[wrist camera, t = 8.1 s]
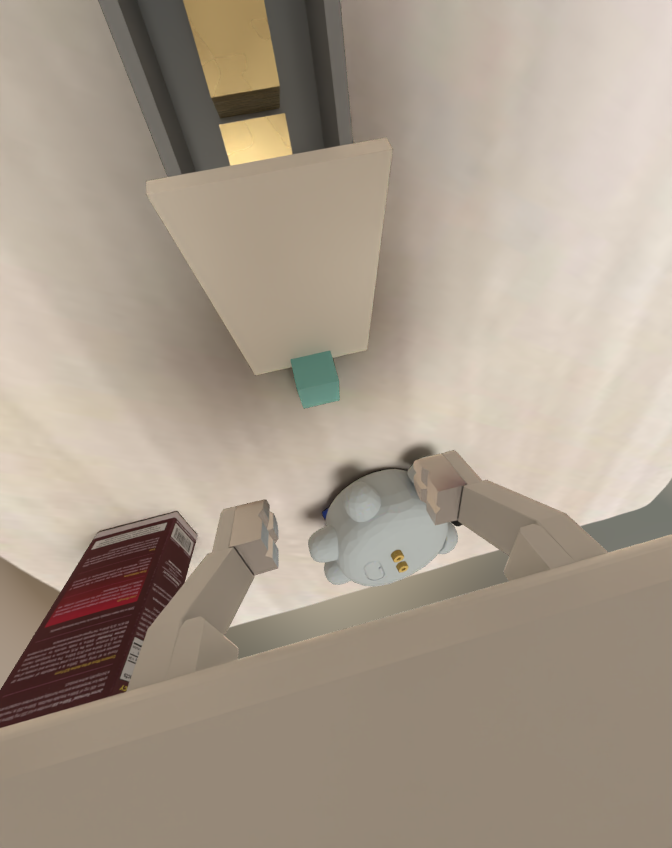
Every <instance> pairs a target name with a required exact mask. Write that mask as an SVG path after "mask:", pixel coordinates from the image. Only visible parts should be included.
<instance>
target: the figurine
mask: <svg viewBox="0 0 672 848" xmlns="http://www.w3.org/2000/svg"><path fill="white" fill-rule="evenodd" d="M426 457H429V456H426ZM426 457H422V458H426ZM422 458H420V459H422ZM415 474H416V471H415V470H414V463H413V465H412V466H411V467H410V469H409V470H408V471H405V470H399V469H387V470H382V471H378V472H374V473H371V474H369V475H366V476H364V477H361V478H360V479H358V480H356V481H354V482H353V483H351V484H350V485H349V486H347V487H346V488H345V489H343V490H342V491H341V492H340V494H339V495H338V496H337V497H336V498H335V499H334V501H333V502H332V504H331V505H330V507H329V508H328V509H326V510H325V511H323V512H322V514H323V517H324V518H325V520H326V527H324V528H322V529H320V530H318V531H316V532H315V533H314V534H313V535H312V536H311V537H310V539H309V542H308V546H309V551H310V554H311V557H312V558H313V559H314V560H315V561H317V562H325V566H324V571H325V575H326V578H327V579H328V581H329V582H331V583H332V584H335V585H340V584H344V583H346V582H349V581H353V582H355V583H358V584H361V585H364V586H381V585H386V584H390V583H393V582H396V581H398V580H401V579H403V578H406V577H408V576H410V575H412V574H413V573H415V572H417V571H418V570H420V569H421V568H423V567H425V566H426V565H427V564H428V563H429V562H430V561H432V560H433V559H434V558H435V557H436V556H437V554H446V553H448V552H450V551H451V550H453V549H454V547H455V546H456V544H457V541H458V535H457V531H456V529H455V527H454V526H453V525H452V524H454V525H455V526H461V525H463V524H461V523H460V522H458V520H456V521H452V522H448V523H444V524H440V525H434V523H433V521H432V519H431V518H430V516H429V514H428V512H427V511H426V503H424V502H422V501H421V500H420V498H419V496H418V494H417V492H416V490H415V486H414V475H415Z"/></svg>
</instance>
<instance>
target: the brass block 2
mask: <svg viewBox="0 0 672 848" xmlns="http://www.w3.org/2000/svg"><path fill="white" fill-rule="evenodd" d="M219 127H220V131H221V134H222V138H223V141H224V145H225V148H226V152H227V155H228V158H229V162H230V165H231V166H232V165H237V164H243V163H248V162H254V161H259V160H265V159H270V158H276V157H281V156H287V155H292V148H291V143H290V138H289V132H288V127H287V122H286V116H285V113H282V114H277V115H271V116H265V117H260V118H254V119H248V120H243V121H237V122H231V123H226V124H220V125H219Z"/></svg>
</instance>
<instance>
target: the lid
mask: <svg viewBox="0 0 672 848" xmlns="http://www.w3.org/2000/svg"><path fill="white" fill-rule="evenodd" d="M392 152H393V148H392V147H391V145H390V143H389V142H388V140H387V138H380V139H375V140H369V141H364V142H358V143H353V144H347V145H342V146H336V147H331V148H325V149H320V150H314V151H309V152H303V153H298V154H292V155H287V156H281V157H276V158H270V159H265V160H259V161H254V162H248V163H243V164H237V165H232V166H226V167H221V168H215V169H210V170H204V171H199V172H193V173H188V174H182V175H177V176H171V177H166V178H160V179H155V180H149V181H146V195H147V197H148V198H149V200H150V202H151V203H152V205H153V207H154V208H155V210H156V212H157V213H158V215H159V217H160V218H161V220H162V222H163V223H164V225H165V227H166V228H167V230H168V232H169V233H170V235H171V237H172V238H173V240H174V241H175V243H176V245H177V246H178V248H179V250H180V251H181V253H182V255H183V256H184V258H185V260H186V261H187V263H188V265H189V266H190V268H191V270H192V271H193V273H194V275H195V276H196V278H197V280H198V281H199V283H200V285H201V286H202V288H203V290H204V291H205V293H206V294H207V296H208V298H209V299H210V301H211V303H212V304H213V306H214V308H215V309H216V311H217V313H218V314H219V316H220V318H221V319H222V321H223V323H224V324H225V326H226V328H227V329H228V331H229V333H230V334H231V336H232V338H233V339H234V341H235V343H236V344H237V346H238V347H239V349H240V351H241V352H242V354H243V356H244V357H245V359H246V361H247V362H248V364H249V366H250V367H251V369H252V371H253V372H254V374H255V376H256V375H260V374H264V373H269V372H273V371H278V370H282V369H286V368H291V367H292V369H293V374H294V379H295V383H296V388H297V391H298V394H299V397H300V400H301V403H302V405H303V408H304V409H305V408H309V407H313V406H318V405H322V404H326V403H330V402H334V401H339V400H340V396H339V379H338V376H337V372H336V369H335V365H334V362H333V358H335V357H339V356H343V355H348V354H352V353H356V352H361V351H365V350H367V347H368V339H369V332H370V324H371V316H372V308H373V300H374V293H375V285H376V277H377V269H378V261H379V254H380V246H381V238H382V230H383V222H384V215H385V207H386V199H387V191H388V183H389V175H390V168H391V160H392Z"/></svg>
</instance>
